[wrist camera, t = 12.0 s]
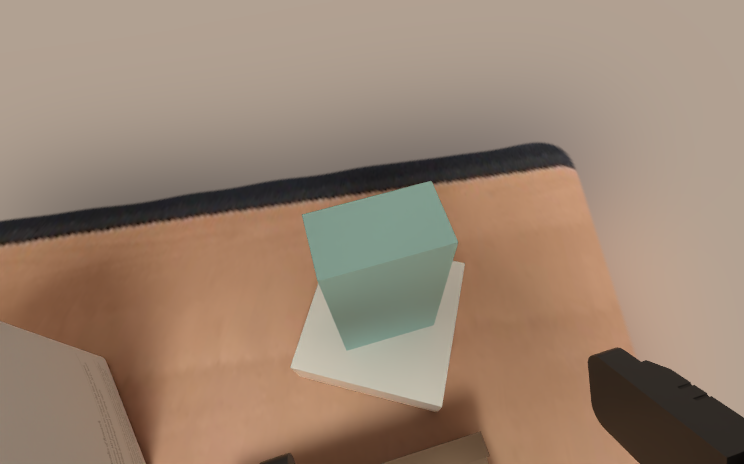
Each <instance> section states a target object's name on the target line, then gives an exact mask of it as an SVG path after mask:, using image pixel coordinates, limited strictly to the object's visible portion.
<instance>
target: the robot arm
mask: <svg viewBox="0 0 744 464" xmlns="http://www.w3.org/2000/svg"><path fill="white" fill-rule="evenodd" d="M588 370H589V381H590V392H591V403H592V407H593V410H594V413H595V415H596V417H597V419H598V420H599V422H600V423H601V425H602V426H603V427H604V428H605V429H606V430H607V431H608V432H609V433H610V434H611V435H612V436H613V437H614V438H615V439H616V440H617V441H618V442H619V443H620V444H621V445H622V446H623V447H624V448H625V449H626V450H627V451H628V452H629V453H630V454H631V455H632V456H633V457H634V458H635V459H636V460H637V461H638V462H639V463H640V464H744V418H743V417H742V416H740V415H739V414H737V413H736V412H734V411H733V410H731V409H730V408H728V407H727V406H725V405H724V404H722V403H721V402H719V401H718V400H716V399H715V398H713V397H712V396H711V397H709V396H708V395H707V393H706V392H704V391H703V390H701V389H699V388H698V387H697V386H695V385H693V386H692V385H691V383H690V382H689V381H688V380H686V379H684V378H683V377H681V376H680V375H678V374H677V373H675V372H674V371H672V370H671V369H668V368H666V367H663V366H660V365H658V364H655V363H652V362H650V361H643V362H640V361H639V360H638V359H636V358H635V357H633V356H632V355H630V354H629V353H628V352H626V351H625V350H623V349H621V348H613V349H610V350H607V351H604V352H601V353H598V354H595V355H592V356H590V357H589V359H588ZM260 464H295V461H294V459H293V456H292V455H291V453H288V454H285V455H281V456H278V457H275V458H272V459H269V460H266V461H263V462H261V463H260Z"/></svg>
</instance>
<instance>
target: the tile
mask: <svg viewBox="0 0 744 464" xmlns="http://www.w3.org/2000/svg"><path fill="white" fill-rule="evenodd" d="M464 267H465V263H461V262H457V261H453V262H452V265H451V269H450V272H449V275H448V279H447V282H446V285H445V289H444V292H443V296H442V299H441V302H440V306H439V309H438V313H437V316H436V319H435V323H434V325H432V326H429V327H426V328H422V329H419V330H415V331H412V332H409V333H405V334H402V335H399V336H395V337H392V338H388V339H385V340H382V341H378V342H375V343H371V344H368V345H365V346H361V347H358V348H354V349H351V350H348V351H346V348H345V346H344V343H343V341H342V339H341V336H340V334H339V331H338V329H337V327H336V324H335V322H334V319H333V317H332V315H331V312H330V310H329V307H328V305H327V303H326V300H325V298H324V295H323V293H322V291H321V288H320V286H319V284H318V285H317V288H316V291H315V294H314V297H313V300H312V303H311V306H310V310H309V313H308V316H307V319H306V322H305V325H304V328H303V331H302V334H301V337H300V340H299V343H298V346H297V349H296V352H295V355H294V358H293V361H292V364H291V367H290V368H291V369H292V370H293V371H294V372H295V373H297V374H298V375H299V376H300V377H303V378H307V379H310V380H314V381H318V382H322V383H326V384H330V385H333V386H337V387H341V388H345V389H349V390H352V391H356V392H360V393H364V394H368V395H372V396H375V397H379V398H383V399H387V400H391V401H394V402H398V403H402V404H406V405H410V406H414V407H417V408H421V409H425V410H429V411H433V412H436V413H437V412H438V411H439V410H440V409H441V408H442V404H443V397H444V391H445V385H446V379H447V373H448V366H449V360H450V354H451V348H452V341H453V335H454V329H455V323H456V317H457V310H458V304H459V298H460V292H461V285H462V279H463V273H464Z"/></svg>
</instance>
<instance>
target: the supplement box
mask: <svg viewBox="0 0 744 464" xmlns="http://www.w3.org/2000/svg"><path fill="white" fill-rule="evenodd" d="M0 464H146V463H145V460H144V458H143V455H142V452H141V450H140V447H139V445H138V442H137V440H136V437H135V434H134V432H133V429H132V427H131V424H130V421H129V419H128V416H127V414H126V411H125V408H124V406H123V403H122V401H121V398H120V395H119V393H118V390H117V388H116V385H115V382H114V380H113V377H112V375H111V372H110V370H109V367H108V365H107V362H106V360H105V358H103V357H101V356H98V355H95V354H92V353H90V352H87V351H84V350H81V349H78V348H76V347H73V346H70V345H67V344H64V343H61V342H58V341H55V340H53V339H50V338H47V337H44V336H41V335H38V334H35V333H33V332H30V331H27V330H24V329H21V328H18V327H16V326H13V325H10V324H7V323H4V322H1V321H0Z"/></svg>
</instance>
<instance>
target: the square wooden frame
mask: <svg viewBox="0 0 744 464" xmlns="http://www.w3.org/2000/svg"><path fill="white" fill-rule="evenodd" d="M488 456H490V455H489V453H488V450H487V447H486V445H485V442H484V439H483V437H482V434H481V431H480V432H477V433H474V434H471V435H468V436H465V437H462V438H459V439H456V440H453V441H450V442H446V443H443V444H440V445H437V446H434V447H431V448H428V449H425V450H422V451H419V452H416V453H413V454H410V455H407V456H403V457H400V458H397V459H394V460H391V461H388V462H385V463H382V464H489V463H488V460H487V458H486V457H488Z"/></svg>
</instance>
